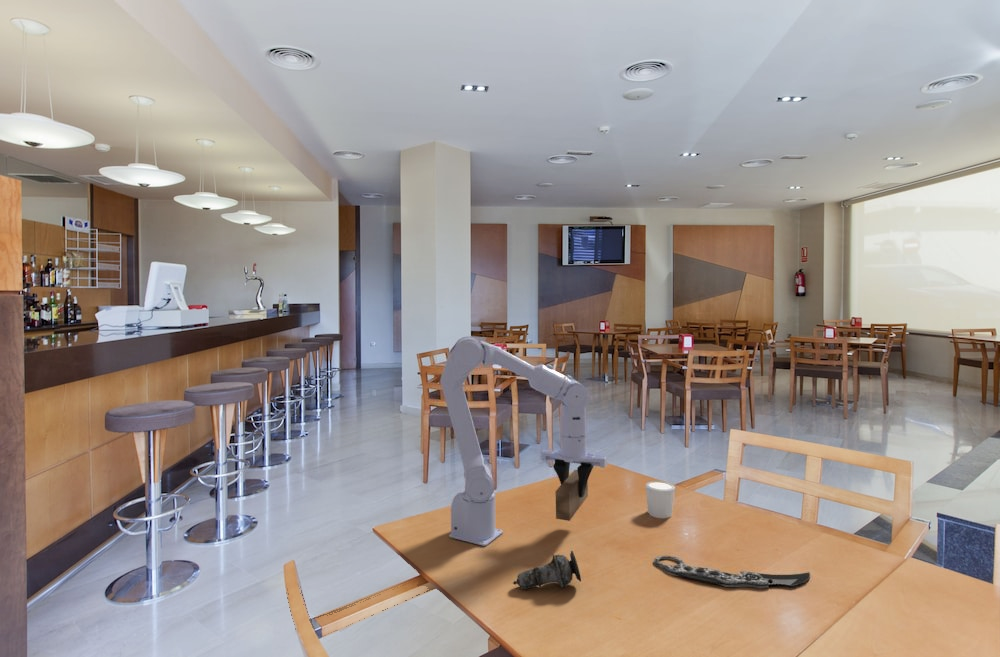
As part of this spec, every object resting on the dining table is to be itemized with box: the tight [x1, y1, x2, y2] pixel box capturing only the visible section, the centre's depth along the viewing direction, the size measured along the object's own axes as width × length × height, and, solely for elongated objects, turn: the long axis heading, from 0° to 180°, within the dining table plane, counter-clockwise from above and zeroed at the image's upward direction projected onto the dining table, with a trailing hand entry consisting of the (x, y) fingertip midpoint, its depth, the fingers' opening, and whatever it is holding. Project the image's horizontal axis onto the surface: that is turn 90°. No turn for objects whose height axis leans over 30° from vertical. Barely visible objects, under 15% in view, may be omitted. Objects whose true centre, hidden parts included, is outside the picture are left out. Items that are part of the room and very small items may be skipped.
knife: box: [653, 555, 811, 590], centre depth 100 cm, size 28×2×10 cm
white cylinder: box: [645, 480, 676, 519], centre depth 130 cm, size 7×7×7 cm
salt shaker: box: [512, 550, 582, 590], centre depth 97 cm, size 6×6×12 cm
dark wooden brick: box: [555, 469, 589, 522], centre depth 119 cm, size 3×14×6 cm, turn 155°
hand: (573, 494), depth 120 cm, fingers closed on dark wooden brick, 3 cm apart
